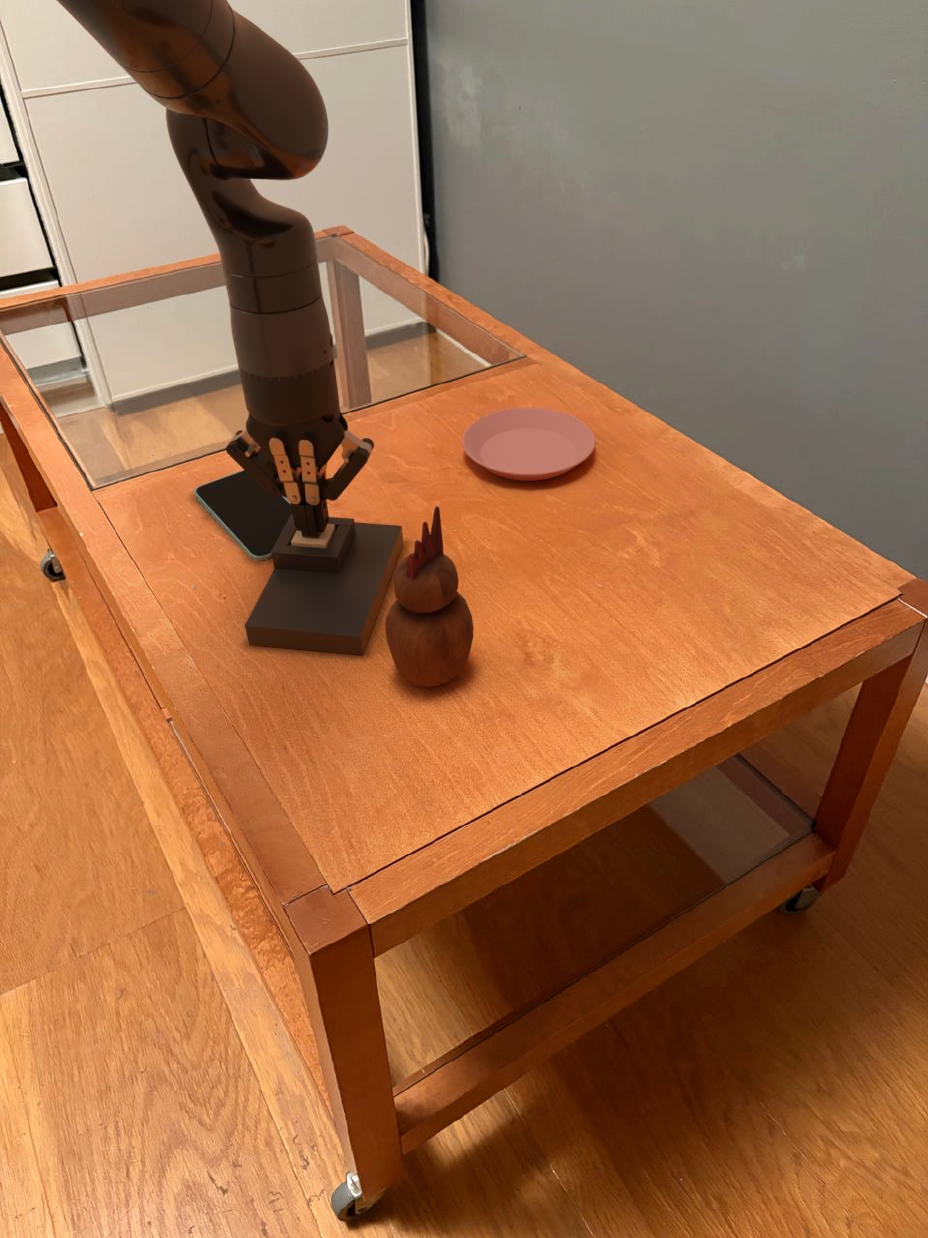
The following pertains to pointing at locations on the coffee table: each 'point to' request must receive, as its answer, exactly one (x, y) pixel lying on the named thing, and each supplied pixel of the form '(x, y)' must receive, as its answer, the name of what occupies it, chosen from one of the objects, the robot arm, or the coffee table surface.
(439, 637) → the wooden figurine
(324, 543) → the beige block
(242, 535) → the smartphone
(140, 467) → the coffee table surface
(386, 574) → the stacked tray base
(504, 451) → the plate
